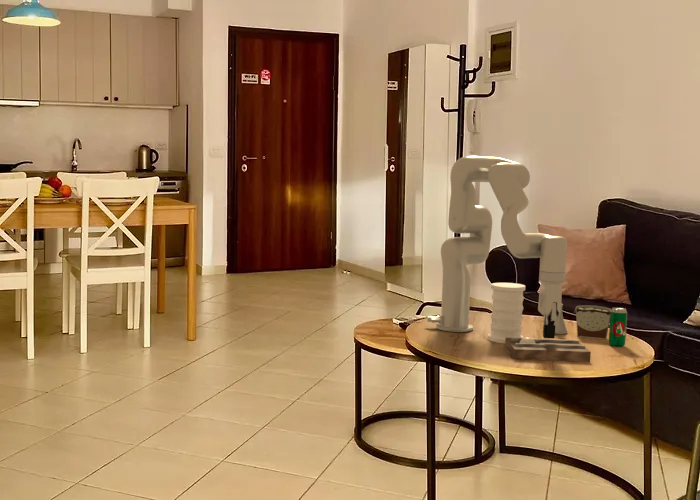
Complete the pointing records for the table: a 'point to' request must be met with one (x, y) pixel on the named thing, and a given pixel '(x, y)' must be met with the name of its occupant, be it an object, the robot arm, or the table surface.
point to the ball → (527, 340)
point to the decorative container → (506, 311)
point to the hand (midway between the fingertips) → (548, 337)
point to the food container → (592, 321)
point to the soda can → (618, 327)
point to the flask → (560, 324)
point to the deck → (548, 350)
